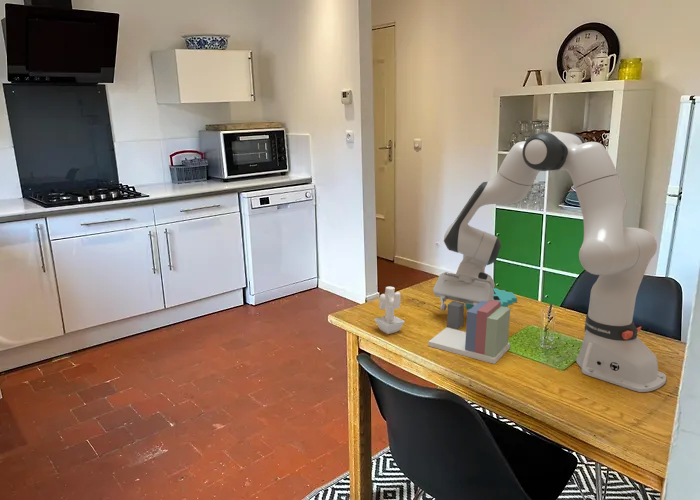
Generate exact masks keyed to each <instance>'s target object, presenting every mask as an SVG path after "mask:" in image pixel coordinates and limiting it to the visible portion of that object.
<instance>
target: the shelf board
mask: <svg viewBox="0 0 700 500" xmlns="http://www.w3.org/2000/svg"><path fill="white" fill-rule="evenodd" d="M510 319H511V308H510V307H502V306H501V301H496V300H490V301H489V302H486V301H480V302H479V303H478V304H476V305H475V306H474V307H473V308H471V309H470V310H469V311H467V310H466V327H465V331H462V330H460V329H458V330H457V329H453V328H449V327H445V328H444V329H443V330H441V331H440V332H439V333H437V334H436V335H435V336H433V337H432V338H431V339H430V340H428V344H427V345H428V347H432V348H435V349H438V350H442V351H446V352H448V353H449V352H450V353H452V354H456V355H460V356H464V357H468V358H471V359H475V360H479V361H482V362H486V363H490V364H492V365H495V364H496V363H497V362H498V361H499V360H500V359H501V358H503V356H504V355H505V354H506V353H507V351H508V350H509V349H510V348H511V342H509V331H510V321H511V320H510Z"/></svg>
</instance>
